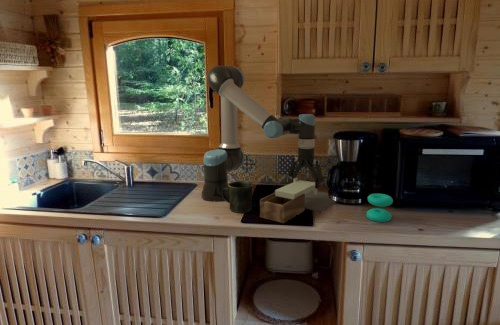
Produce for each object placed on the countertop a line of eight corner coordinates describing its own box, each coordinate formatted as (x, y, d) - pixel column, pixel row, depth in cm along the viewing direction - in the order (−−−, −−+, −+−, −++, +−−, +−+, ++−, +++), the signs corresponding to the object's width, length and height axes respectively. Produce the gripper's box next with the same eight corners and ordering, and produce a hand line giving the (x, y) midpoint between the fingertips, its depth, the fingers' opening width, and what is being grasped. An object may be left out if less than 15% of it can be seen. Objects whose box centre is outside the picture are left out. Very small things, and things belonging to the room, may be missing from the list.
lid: (274, 195, 159) (274, 190, 159) (299, 184, 176) (299, 179, 176) (294, 199, 153) (294, 194, 153) (317, 187, 170) (317, 182, 170)
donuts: (369, 199, 145) (366, 192, 154) (367, 222, 147) (364, 213, 156) (395, 200, 143) (390, 193, 152) (393, 223, 145) (388, 215, 155)
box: (259, 217, 153) (260, 199, 151) (281, 205, 167) (282, 189, 165) (283, 223, 146) (284, 204, 144) (304, 210, 160) (304, 193, 158)
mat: (286, 204, 169) (286, 203, 168) (311, 191, 189) (311, 189, 189) (321, 212, 158) (321, 211, 158) (343, 197, 179) (343, 196, 178)
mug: (249, 214, 156) (249, 188, 153) (218, 211, 160) (217, 186, 157) (255, 206, 166) (255, 182, 163) (226, 204, 170) (225, 179, 167)
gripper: (281, 146, 170) (281, 190, 175) (324, 151, 157) (323, 198, 162) (289, 143, 176) (288, 186, 181) (332, 148, 163) (330, 194, 168)
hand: (304, 192), depth 172 cm, fingers closed on lid, 10 cm apart
